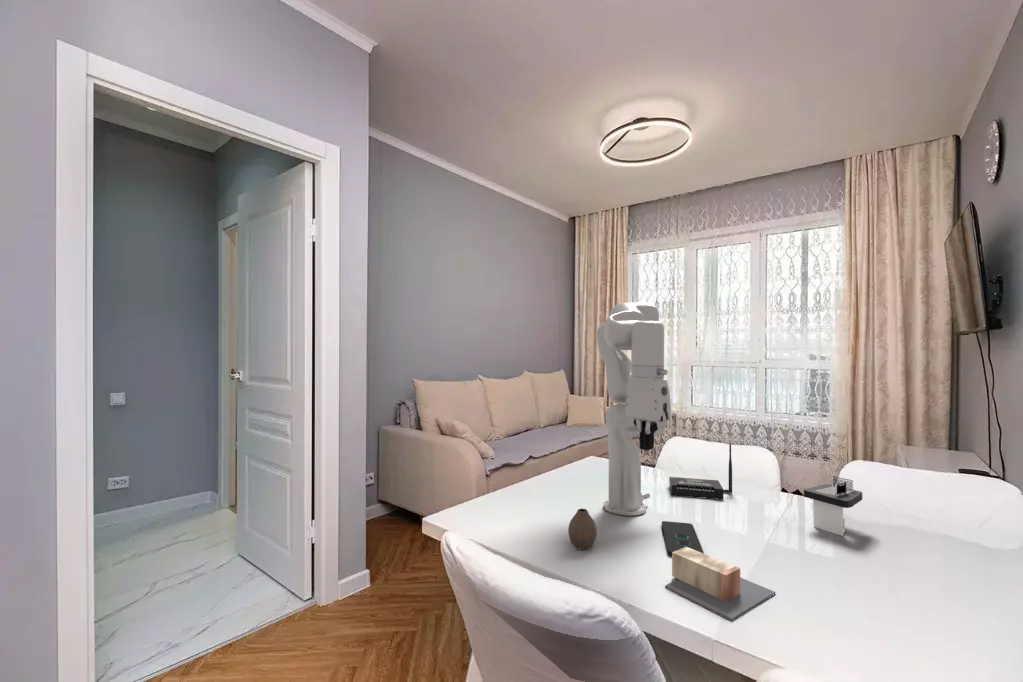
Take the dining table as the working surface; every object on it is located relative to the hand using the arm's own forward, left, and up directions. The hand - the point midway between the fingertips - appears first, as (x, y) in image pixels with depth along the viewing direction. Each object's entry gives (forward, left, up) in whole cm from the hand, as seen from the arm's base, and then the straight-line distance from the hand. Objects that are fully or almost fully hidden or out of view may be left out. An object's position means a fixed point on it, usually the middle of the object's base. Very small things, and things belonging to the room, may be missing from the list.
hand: (646, 448), depth 110 cm
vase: (+10, -11, -25) cm, 29 cm away
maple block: (+3, +11, -22) cm, 25 cm away
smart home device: (-13, +1, -25) cm, 28 cm away
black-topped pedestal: (-55, +20, -25) cm, 64 cm away
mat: (+2, +20, -25) cm, 32 cm away
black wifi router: (-53, -19, -25) cm, 61 cm away
